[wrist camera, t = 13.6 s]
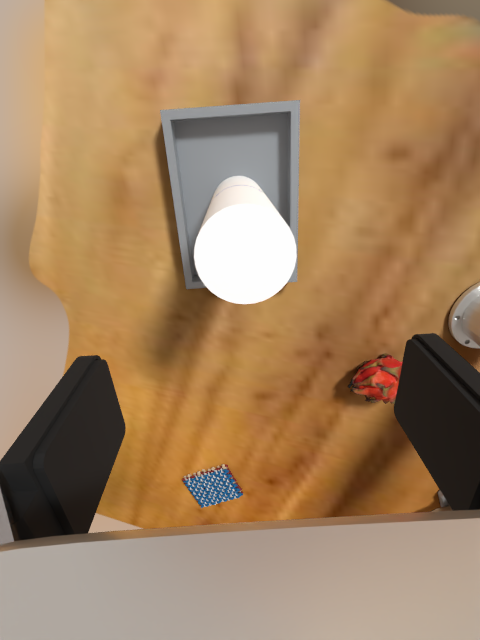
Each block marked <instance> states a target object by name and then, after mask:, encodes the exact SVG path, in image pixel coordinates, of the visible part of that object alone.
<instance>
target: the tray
mask: <svg viewBox="0 0 480 640" xmlns="http://www.w3.org/2000/svg"><path fill="white" fill-rule="evenodd" d="M160 113H161V120H162V126H163V133H164V140H165V147H166V154H167V161H168V168H169V174H170V181H171V188H172V195H173V202H174V209H175V215H176V222H177V229H178V236H179V243H180V250H181V256H182V263H183V270H184V277H185V284H186V289H195V288H207V287H206V286H205V285H204V283H203V282H202V280H201V279H200V277H199V275H198V272H197V270H196V267H195V260H194V247H195V243H196V239H197V236H198V233H199V231H200V228H201V226H202V223H203V221H204V218H205V215H206V213H207V210H208V208H209V205H210V203H211V200H212V197H213V195H214V192H215V190H216V188H217V187H218V186H219V184H220V183H221V182H223V181H224V180H226V179H227V178H230V177H233V176H245V177H248V178H250V179H252V180H253V181H255V182H256V183H257V184H258V186H259V187H260V188H261V189H262V191H263V192H264V193H265V195H266V196H267V197H268V199H269V200H270V202H271V203H272V204H273V206H274V207H275V208H276V210H277V211H278V212H279V214H280V215H281V217H282V218H283V219H284V221H285V222H286V223H287V225H288V226H289V227H290V230H291V232H292V234H293V236H294V239H295V243H296V255H297V252H298V188H299V124H300V100H296V101H282V102H268V103H254V104H240V105H226V106H212V107H198V108H184V109H170V110H160ZM288 282H297V258H296V263H295V268H294V270H293V273H292V275H291V277H290V279H289V280H288Z"/></svg>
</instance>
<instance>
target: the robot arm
mask: <svg viewBox="0 0 480 640" xmlns="http://www.w3.org/2000/svg"><path fill="white" fill-rule="evenodd" d="M448 325H449V330H450V332H451V335H452V336H453V337H454V338H455V339H456V340H457V341H458V342H459V343H460V344H462V345H464V346H466V347H470V348H480V282H479V283H477V284H475V285H473V286H472V287H470V288H469V289H468V290H467V291H465V292H464V293H463V294H462V295H461V296H460V297H459V298H458V300H457V301H456V302H455V304H454V306H453V308H452V310H451V312H450V315H449V322H448ZM394 413H395V416H396V418H397V420H398V422H399V423H400V425H401V427H402V428H403V430H404V432H405V433H406V435H407V437H408V438H409V440H410V441H411V443H412V445H413V446H414V448H415V450H416V451H417V453H418V455H419V456H420V458H421V459H422V461H423V463H424V464H425V466H426V468H427V469H428V471H429V473H430V474H431V476H432V477H433V479H434V481H435V482H436V484H437V486H438V487H439V489H440V491H441V492H442V494H443V495H444V497H445V499H446V500H447V502H448V504H449V505H450V507H451V509H452V510H453V511H436V512H418V513H400V514H382V515H364V516H345V517H328V518H312V519H295V520H278V521H262V522H246V523H230V524H214V525H199V526H184V527H169V528H154V529H138V530H126V531H125V530H124V531H111V532H98V533H88V531H89V529H90V526H91V523H92V521H93V518H94V515H95V513H96V510H97V507H98V505H99V502H100V499H101V497H102V494H103V491H104V489H105V486H106V483H107V481H108V478H109V475H110V473H111V470H112V467H113V465H114V462H115V459H116V457H117V454H118V451H119V449H120V446H121V443H122V441H123V438H124V435H125V422H124V419H123V415H122V412H121V409H120V405H119V402H118V398H117V395H116V392H115V388H114V385H113V381H112V378H111V375H110V371H109V368H108V364H107V362H106V360H101V358H100V357H99V356H98V355H94V356H80V357H78V358H76V360H75V361H74V362H73V364H72V365H71V366H70V368H69V369H68V370H67V372H66V373H65V374H64V376H63V377H62V379H61V380H60V381H59V383H58V384H57V385H56V387H55V388H54V389H53V391H52V392H51V393H50V395H49V396H48V398H47V399H46V400H45V401H44V403H43V404H42V406H41V407H40V408H39V410H38V411H37V412H36V414H35V415H34V416H33V418H32V419H31V420H30V422H29V423H28V424H27V426H26V427H25V429H24V430H23V431H22V433H21V434H20V435H19V437H18V438H17V439H16V441H15V442H14V443H13V445H12V446H11V447H10V449H9V450H8V451H7V453H6V454H5V455H4V457H3V458H2V459H1V461H0V640H480V373H479V372H478V371H477V370H476V369H475V368H474V367H472V366H471V365H470V364H469V363H468V362H467V361H466V360H465V359H464V358H462V357H461V356H460V355H459V354H458V353H457V352H456V351H455V350H454V349H452V348H451V347H450V346H449V345H448V344H447V343H446V342H445V341H444V340H443V339H441V338H440V337H439V336H438V335H437V334H434V333H431V334H415V335H414V336H413V337H412V339H410V340H408V341H407V342H406V347H405V352H404V357H403V362H402V368H401V373H400V378H399V383H398V389H397V394H396V399H395V404H394Z"/></svg>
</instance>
